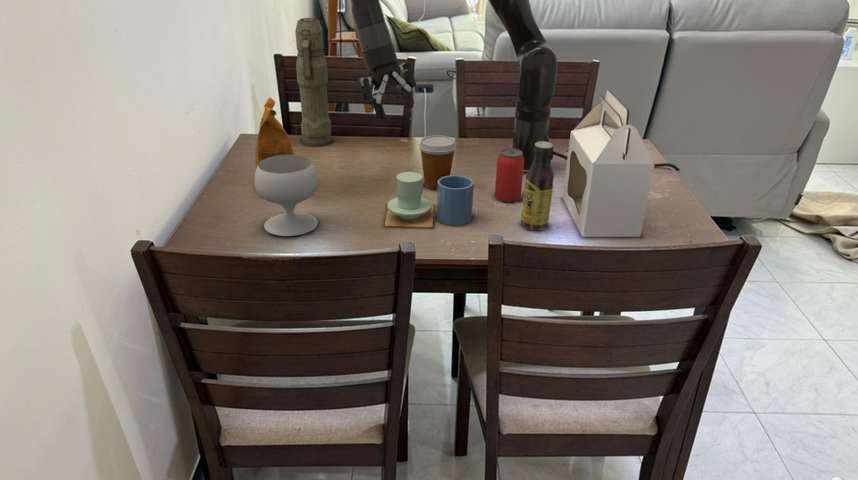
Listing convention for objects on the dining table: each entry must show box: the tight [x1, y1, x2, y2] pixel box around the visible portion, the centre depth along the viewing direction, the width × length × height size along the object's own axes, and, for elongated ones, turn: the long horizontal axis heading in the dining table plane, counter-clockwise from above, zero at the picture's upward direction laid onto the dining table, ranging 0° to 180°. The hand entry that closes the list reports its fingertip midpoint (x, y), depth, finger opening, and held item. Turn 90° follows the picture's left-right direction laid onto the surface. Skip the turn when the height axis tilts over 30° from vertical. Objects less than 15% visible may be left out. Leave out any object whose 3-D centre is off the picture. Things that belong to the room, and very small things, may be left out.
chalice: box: [253, 154, 319, 237], centre depth 151 cm, size 14×14×15 cm
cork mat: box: [384, 204, 435, 229], centre depth 159 cm, size 11×12×1 cm
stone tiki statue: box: [294, 17, 332, 147], centre depth 195 cm, size 9×12×35 cm
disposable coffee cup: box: [418, 134, 457, 190], centre depth 173 cm, size 10×10×12 cm
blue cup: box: [436, 174, 474, 226], centre depth 157 cm, size 8×8×9 cm
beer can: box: [494, 147, 524, 203], centre depth 166 cm, size 7×7×12 cm
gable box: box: [562, 90, 656, 238], centre depth 153 cm, size 22×13×28 cm, turn 1°
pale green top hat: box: [386, 171, 433, 219], centre depth 157 cm, size 10×10×10 cm
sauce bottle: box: [520, 141, 555, 231], centre depth 150 cm, size 7×6×20 cm
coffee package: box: [254, 97, 295, 169], centre depth 168 cm, size 10×12×22 cm
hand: (396, 113), depth 162 cm, fingers open, 8 cm apart
